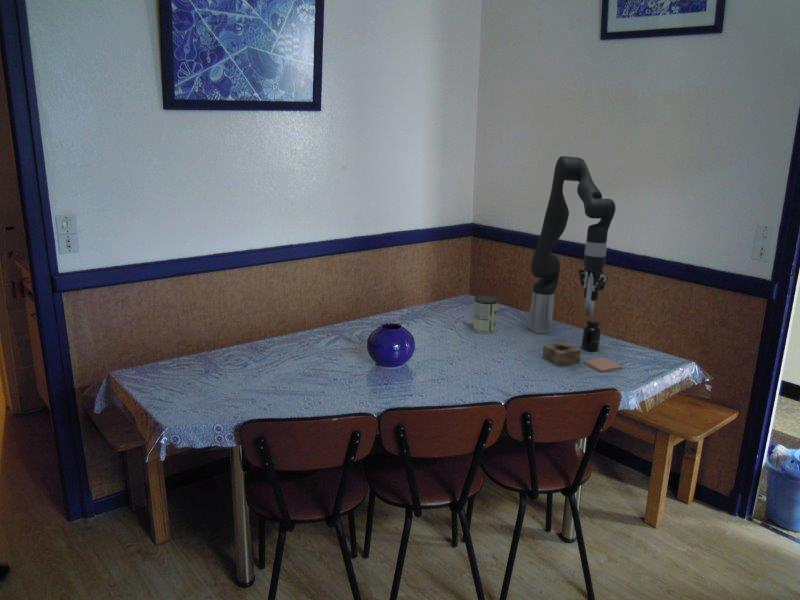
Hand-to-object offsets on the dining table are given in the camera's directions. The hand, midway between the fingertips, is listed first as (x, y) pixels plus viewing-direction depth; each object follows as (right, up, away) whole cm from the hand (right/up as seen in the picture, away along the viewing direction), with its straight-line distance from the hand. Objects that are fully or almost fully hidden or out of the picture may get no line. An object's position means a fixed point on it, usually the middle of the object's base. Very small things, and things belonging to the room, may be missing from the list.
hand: (590, 299), depth 255 cm
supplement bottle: (+6, -20, +23) cm, 31 cm away
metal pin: (0, -6, +2) cm, 6 cm away
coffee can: (-34, -13, +42) cm, 56 cm away
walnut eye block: (-9, -23, +10) cm, 27 cm away
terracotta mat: (+6, -25, +6) cm, 27 cm away
